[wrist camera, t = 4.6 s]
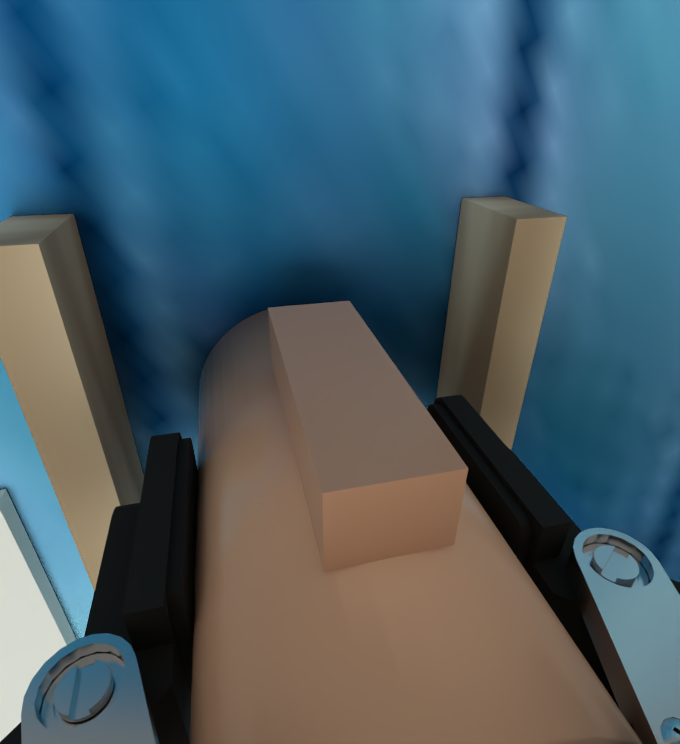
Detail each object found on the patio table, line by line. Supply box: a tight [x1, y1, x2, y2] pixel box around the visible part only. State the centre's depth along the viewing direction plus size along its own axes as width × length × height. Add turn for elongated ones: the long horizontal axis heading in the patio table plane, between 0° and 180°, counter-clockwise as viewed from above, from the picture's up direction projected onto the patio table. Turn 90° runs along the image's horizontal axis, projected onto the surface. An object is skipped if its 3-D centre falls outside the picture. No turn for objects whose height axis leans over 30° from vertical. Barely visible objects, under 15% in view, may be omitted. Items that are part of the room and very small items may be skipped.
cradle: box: [0, 196, 567, 591], centre depth 13 cm, size 11×11×2 cm
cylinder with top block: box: [190, 301, 643, 744], centre depth 9 cm, size 5×6×10 cm
